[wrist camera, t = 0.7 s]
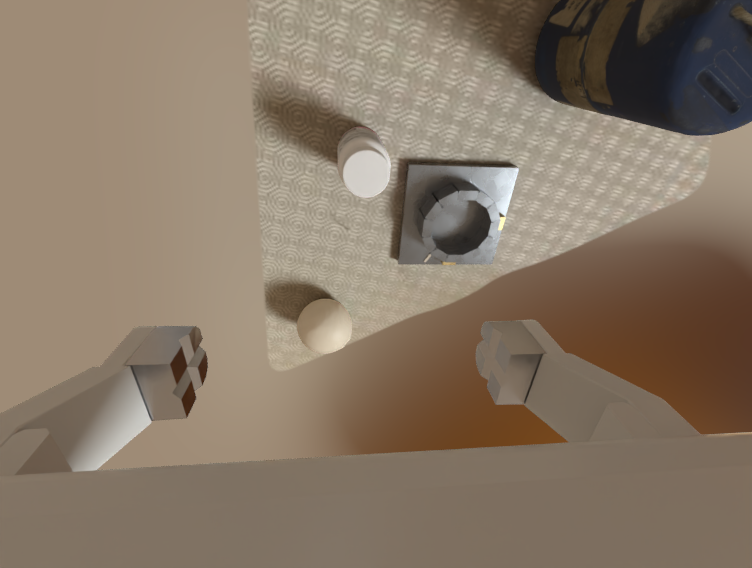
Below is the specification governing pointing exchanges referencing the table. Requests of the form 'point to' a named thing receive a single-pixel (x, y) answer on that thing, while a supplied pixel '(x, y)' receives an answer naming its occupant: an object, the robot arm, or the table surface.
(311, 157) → the table surface
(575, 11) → the canister
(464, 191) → the lock socket
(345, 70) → the table surface
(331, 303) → the beige sphere
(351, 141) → the pill bottle
